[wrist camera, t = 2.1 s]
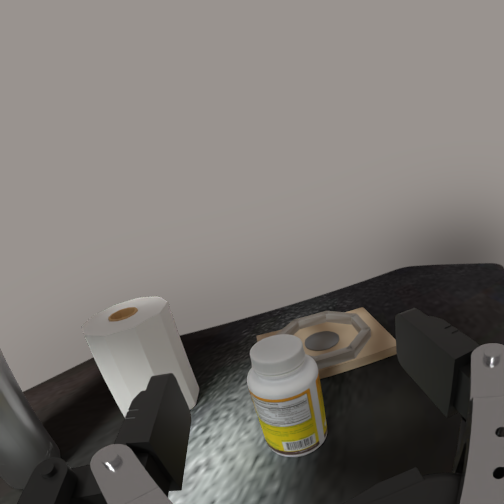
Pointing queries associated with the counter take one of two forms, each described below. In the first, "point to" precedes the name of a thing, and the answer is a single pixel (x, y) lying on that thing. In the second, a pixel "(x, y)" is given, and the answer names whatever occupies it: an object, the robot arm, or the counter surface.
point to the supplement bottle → (287, 395)
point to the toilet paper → (138, 349)
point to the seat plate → (340, 340)
